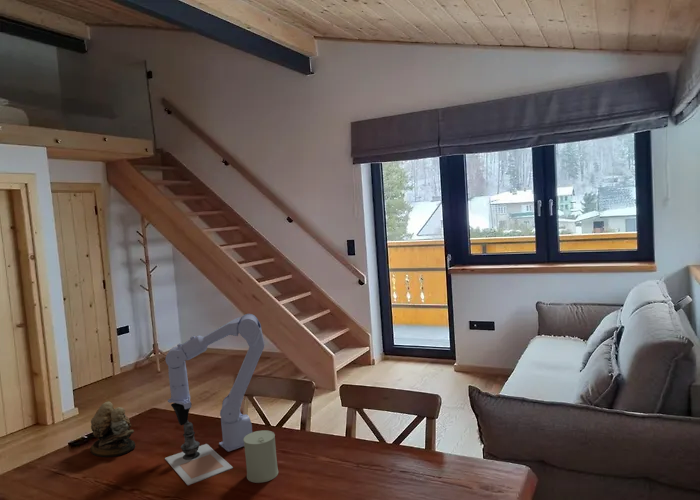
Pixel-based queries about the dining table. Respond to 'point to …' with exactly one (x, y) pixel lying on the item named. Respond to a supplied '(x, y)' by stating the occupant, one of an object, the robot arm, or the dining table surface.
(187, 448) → the dark grey chess piece
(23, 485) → the dining table surface
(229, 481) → the dining table surface
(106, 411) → the rock sculpture
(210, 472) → the mat
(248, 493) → the dining table surface
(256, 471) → the can
